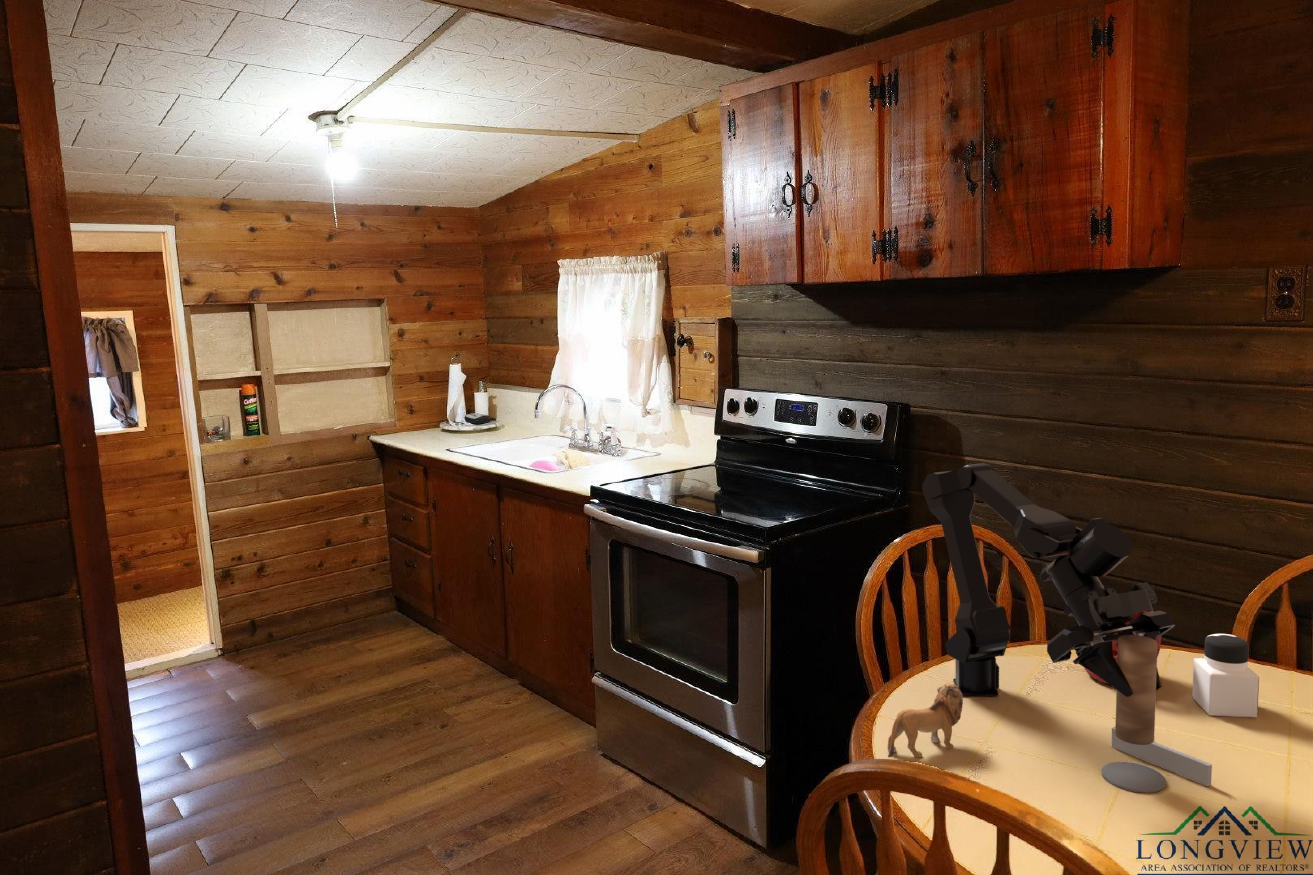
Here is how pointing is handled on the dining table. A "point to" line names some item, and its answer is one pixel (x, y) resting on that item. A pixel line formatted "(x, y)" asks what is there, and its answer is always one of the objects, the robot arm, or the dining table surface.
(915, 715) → the lion figurine
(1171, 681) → the dining table surface
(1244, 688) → the medicine bottle
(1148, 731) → the pepper mill
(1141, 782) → the resting pad
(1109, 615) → the robot arm
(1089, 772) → the dining table surface
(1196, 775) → the low wall
